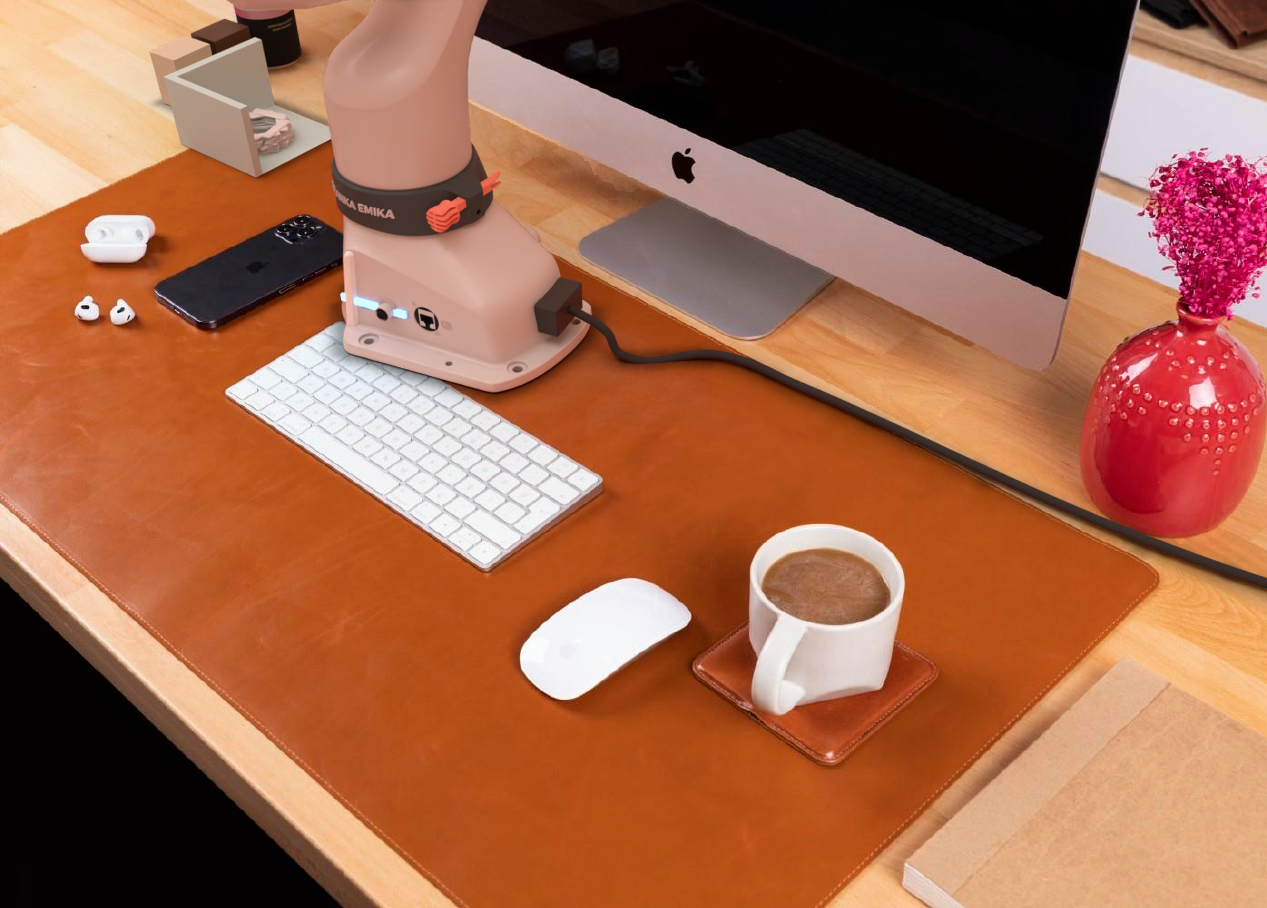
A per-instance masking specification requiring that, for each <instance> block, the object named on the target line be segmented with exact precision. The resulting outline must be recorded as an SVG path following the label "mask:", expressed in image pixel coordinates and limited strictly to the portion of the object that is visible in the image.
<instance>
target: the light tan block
mask: <svg viewBox="0 0 1267 908" xmlns="http://www.w3.org/2000/svg"><path fill="white" fill-rule="evenodd" d="M149 55H150V60H151V63H152V66H153V70H154V74H155V77H156V81H157V86H158V90H159V93H160V96H161V100H162V103H163V104H165V105H168V106H170V107H171V104H170V100H169V97H168V93H167V89H166V85H165V82H164V78H163V77H164V76H166V75H169V74H171V73H173V72H176V71H178V70H180V69H183V68H185V67H187V66H190V65H192V64H194V63H197V62H199V61H201V60H203V59H206V58H208V57H210V56H212V52H211V48H210V44H208V43H205V42H202V41H199V40H196V39H193V38H191V36H187V35H184V36H181V37H179V38H177V39H175V40H172V41H170V42H168V43H165V44H163V45H161V46H159V47H156V48H154V49H151V50H150V51H149Z"/></svg>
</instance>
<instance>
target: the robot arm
mask: <svg viewBox="0 0 1267 908" xmlns="http://www.w3.org/2000/svg"><path fill="white" fill-rule="evenodd" d="M226 1H227V2H228V3H230V4H232V5H233V6H234V5H235V6H236V7H238V8H240V9H259V10H289V9H294V10H309V9H312V8H313V9H314V8H318V7H323V6H327V5H332V4H336V3H341V2H346V1H348V0H226ZM488 1H489V0H374V1H373V4H372V6H371V8H370V9H369V11H368V13H367V14H366V16H365V17H364V19H363V20H362V21H361V22H360V23H359V24H358V25H357V26H356V27H355V28H354V29H353V30H351V32H349V33H348V34H347V35H345V36H344V38H342V39H341V40H340V41H339V42H338V43H337V44H336V46H335V47H334V48H333V50H332V51H331V53H330V55H329V57H328V59H327V61H326V64H325V67H324V71H323V75H322V82H321V88H322V93H323V94H322V95H323V100H324V105H325V111H326V117H327V124H328V127H329V129H330V135H331V139H330V140H331V145H332V151H333V156H332V159H331V163H330V167H331V176H332V180H331V185H332V190H333V194H334V197H335V202H336V206H337V208H338V210H339V211H340V213H341V214H342V218H343V235H342V236H343V237H342V238H343V240H342V241H343V242H342V249H343V250H342V267H343V285H344V289H343V292H341V293H340V299H341V314H342V316H343V319H344V322H345V326H344V330H343V334H342V336H343V337H342V339H343V340H342V343H343V349H344V350H345V352H346V353H349V354H351V355H354V356H358V357H362V358H365V359H368V360H372V361H376V362H380V363H383V364H387V365H390V366H393V367H398V368H401V369H403V370H404V369H405V370H408V371H411V372H416V373H419V374H423V375H425V376H426V375H427V376H429V377H433V378H437V379H440V380H444V381H447V382H451V383H455V384H457V385H462V386H466V387H468V388H469V387H470V388H474V389H476V390H481V391H483V392H488V393H499V392H504V391H507V390H511V389H515V388H516V387H520V386H522V385H524V384H527V383H528V382H530V381H533V380H535V379H536V378H538V377H540V376H541V375H543V374H544V373H546V372H547V371H549V370H551V369H552V368H553V367H554V366H556V365H557V364H558V363H560V362H561V361H562V360H563V359H565V358H566V357H567V356H568V355H569V354H570V353H572V351H574V350H575V349H576V347H577V346H578V345H579V344H580V343H581V342H582V340H583V339H584V338H585V337H586V335H587V333H588V331H589V330H590V327H593V328H594V329H596V330H597V331H598V332H600V334H601V335H603V337H604V338H605V340H606V342H607V344H608V347H609V349H610V351H611V353H612V354H613V355H614V357H616V358H618V359H619V360H622V361H624V362H626V363H630V364H635V365H645V364H665V363H676V362H684V361H690V360H699V359H712V360H720V361H725V362H730V363H733V364H737V365H740V366H743V367H745V368H748V369H751V370H753V371H756V372H758V373H760V374H762V375H765V376H767V377H769V378H771V379H773V380H775V381H777V382H779V383H781V384H782V385H785V386H787V387H790V388H792V389H794V390H797V391H799V392H801V393H803V394H806V395H808V396H810V397H813V398H814V399H815V398H816V399H818V400H820V401H822V402H825V403H827V404H828V405H829V404H830V405H831V406H833V407H836V408H838V409H841V410H842V411H845V412H847V413H849V414H851V415H852V416H853V415H854V416H856V417H858V418H860V419H862V420H864V421H867V422H868V423H871V424H873V425H875V426H878V427H880V428H882V429H884V430H886V431H888V432H891V433H893V434H895V435H897V436H899V437H901V438H903V439H906V440H907V441H910V442H912V443H914V444H915V445H918V446H919V447H920V446H921V447H923V448H924V449H927V450H929V451H931V452H932V453H935V454H937V455H939V456H942V457H944V458H946V459H947V460H950V461H951V462H955V463H956V464H959V465H960V466H963V467H966V468H967V469H970V470H971V471H973V472H975V473H978V474H980V475H982V476H985V477H987V478H988V479H991V480H993V481H995V482H997V483H999V484H1002V485H1003V486H1006V487H1008V488H1011V489H1013V490H1014V491H1017V492H1019V493H1021V494H1023V495H1025V496H1028V497H1030V498H1032V499H1035V500H1036V501H1039V502H1040V503H1044V504H1046V505H1048V506H1050V507H1053V508H1055V509H1057V510H1060V511H1061V512H1064V513H1066V514H1069V515H1071V516H1073V517H1076V518H1077V519H1080V520H1083V521H1085V522H1088V523H1090V524H1091V525H1094V526H1097V527H1099V528H1101V529H1104V530H1106V531H1109V532H1111V533H1114V534H1116V535H1118V536H1121V537H1124V538H1125V539H1128V540H1131V541H1133V542H1136V543H1138V544H1141V545H1143V546H1145V547H1148V548H1151V549H1153V550H1156V551H1158V552H1161V553H1164V554H1167V555H1169V556H1172V557H1175V558H1177V559H1180V560H1181V561H1182V560H1183V561H1185V562H1188V563H1191V564H1193V565H1196V566H1199V567H1202V568H1203V569H1206V570H1210V571H1212V572H1216V573H1219V574H1221V575H1224V576H1227V577H1229V578H1233V579H1236V580H1239V581H1241V582H1245V583H1247V584H1250V585H1254V586H1257V587H1260V588H1263V589H1267V577H1266V576H1264V575H1260V574H1257V573H1254V572H1251V571H1249V570H1245V569H1242V568H1239V567H1236V566H1233V565H1230V564H1227V563H1224V562H1221V561H1218V560H1216V559H1213V558H1210V557H1207V556H1204V555H1201V554H1199V553H1196V552H1193V551H1190V550H1188V549H1185V548H1183V547H1180V546H1177V545H1174V544H1172V543H1169V542H1166V541H1163V540H1161V539H1158V538H1156V537H1154V536H1151V535H1149V534H1146V533H1143V532H1140V531H1138V530H1135V529H1133V528H1130V527H1128V526H1125V525H1123V524H1120V523H1118V522H1116V521H1113V520H1112V519H1108V518H1106V517H1104V516H1101V515H1100V514H1097V513H1094V512H1092V511H1090V510H1087V509H1084V508H1082V507H1080V506H1078V505H1076V504H1073V503H1071V502H1068V501H1067V500H1064V499H1061V498H1058V497H1057V496H1054V495H1052V494H1050V493H1047V492H1045V491H1043V490H1041V489H1038V488H1037V487H1034V486H1032V485H1030V484H1028V483H1025V482H1023V481H1021V480H1019V479H1016V478H1014V477H1013V476H1010V475H1007V474H1005V473H1003V472H1001V471H999V470H997V469H995V468H992V467H990V466H988V465H986V464H984V463H981V462H979V461H977V460H975V459H973V458H970V457H968V456H966V455H964V454H962V453H960V452H957V451H955V450H954V449H951V448H949V447H947V446H944V445H942V444H940V443H938V442H936V441H934V440H932V439H930V438H928V437H926V436H924V435H921V434H919V433H917V432H914V431H913V430H910V429H908V428H907V427H905V426H902V425H900V424H897V423H896V422H893V421H891V420H889V419H886V418H885V417H882V416H880V415H878V414H876V413H873V412H871V411H869V410H868V409H867V410H866V409H865V408H863V407H860V406H859V405H856V404H854V403H851V402H850V401H847V400H845V399H843V398H840V397H838V396H836V395H833V394H832V393H828V392H826V391H825V390H822V389H820V388H817V387H815V386H814V385H813V386H812V385H810V384H807V383H805V382H803V381H801V380H798V379H796V378H794V377H792V376H789V375H787V374H785V373H784V372H781V371H779V370H777V369H774V368H773V367H770V366H768V365H766V364H764V363H762V362H760V361H757V360H755V359H752V358H749V357H747V356H743V355H740V354H737V353H734V352H729V351H725V350H724V351H723V350H718V349H704V348H703V349H692V350H685V351H681V352H680V351H679V352H675V353H669V354H664V355H656V356H642V355H636V354H633V353H630V352H627V351H625V350H623V349H622V348H621V347H620V345H619V343H618V340H617V338H616V335H615V334H614V332H613V331H612V330H611V328H610V327H609V326H608V325H607V324H606V323H604V322H603V321H601V320H600V319H598V317H595V316H594V315H593V311H592V306H591V304H590V303H589V302H587V301H585V300H584V299H583V283H582V282H581V281H578V280H575V279H570V278H566V277H563V276H561V272H560V269H559V265H558V262H557V260H556V258H555V257H554V255H553V254H552V253H551V252H550V251H549V250H548V249H547V248H546V247H545V246H544V245H543V244H542V240H541V237H540V235H539V233H538V231H537V230H536V229H535V228H534V227H533V226H530V225H525V226H523V225H522V223H521V222H520V221H519V220H517V218H515V216H514V215H513V214H512V213H511V212H510V211H509V210H508V209H507V208H506V207H504V205H503V204H502V203H500V201H499V200H497V198H496V197H495V196H494V189H496V188H497V187H498V186H500V185H501V184H502V181H501V180H498V178H499V177H500V176H501V172H500V171H495V172H494V173H493V174H491V175H490V176H488V174H487V172H486V169H485V166H484V164H483V162H482V160H481V158H480V155H479V153H478V151H477V148H476V147H475V145H474V144H473V142H472V136H471V121H470V108H469V107H470V105H469V103H470V102H469V63H470V55H471V51H472V50H471V49H472V45H473V41H474V37H475V33H476V31H477V28H478V25H479V22H480V19H481V17H482V14H483V12H484V9H485V7H486V5H487V3H488ZM497 180H498V181H497Z"/></svg>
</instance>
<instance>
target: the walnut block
mask: <svg viewBox="0 0 1267 908" xmlns="http://www.w3.org/2000/svg"><path fill="white" fill-rule="evenodd" d="M190 38H193V39H196V40H199V41H202V42H205V43H208V44H210V48H211V52H212V56H213V55H215V54H217V53H220V52H222V51H224V50H227V49H229V48H231V47H234V46H236V45H238V44H241V43H243V42H245V41H248V40H250V39H251V35H250V31H249V27H248V26H246V25H243V24H240V23H237V21H234V20H230V19H227V18H222V19H220V20H218V21H216V22H213V23H211V24H209V25H206V26H204V27H202V28H200V29H198V30H195V31H193V32H191V33H190Z"/></svg>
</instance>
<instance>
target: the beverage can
mask: <svg viewBox="0 0 1267 908" xmlns="http://www.w3.org/2000/svg"><path fill="white" fill-rule="evenodd" d="M233 9H234V14H235V18H236V22H237V23H240V24H243V25H246V26H248V27H249V31H250V35H251V39H252V38H258V39H261V40H262V45H263V50H264V55H265V59H266V64H267V69H268V71H275V70H281V69H286V68H288V67H290V66H293V65H294V64H295V63H297V62H298V61H299V59H300V58H301V57H302V55H303V51H302V46H301V41H300V35H299V34H300V33H299V29H298V24H297V19H296V14H295V9H289V10H259V9H240V8H238V7H236V6H235V5H233Z"/></svg>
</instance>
